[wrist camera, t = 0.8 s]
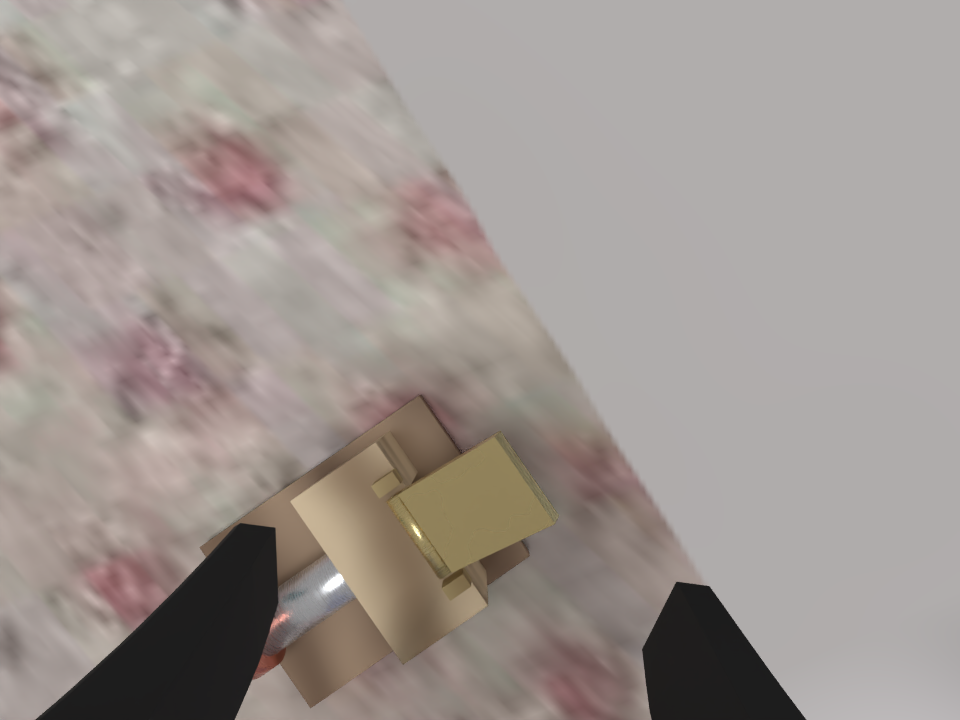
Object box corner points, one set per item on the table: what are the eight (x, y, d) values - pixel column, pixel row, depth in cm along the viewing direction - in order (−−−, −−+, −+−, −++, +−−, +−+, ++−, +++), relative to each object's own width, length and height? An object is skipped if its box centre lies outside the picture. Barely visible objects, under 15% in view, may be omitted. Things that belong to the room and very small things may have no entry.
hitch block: (315, 697, 33) (275, 781, 26) (207, 541, 33) (140, 586, 26) (528, 550, 33) (541, 596, 26) (420, 394, 33) (406, 402, 26)
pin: (276, 654, 31) (248, 694, 28) (238, 598, 31) (205, 631, 28) (426, 550, 32) (419, 576, 28) (387, 495, 32) (375, 513, 28)
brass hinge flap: (444, 569, 27) (435, 582, 26) (392, 494, 27) (382, 504, 26) (559, 513, 24) (553, 525, 23) (501, 429, 24) (493, 438, 23)
